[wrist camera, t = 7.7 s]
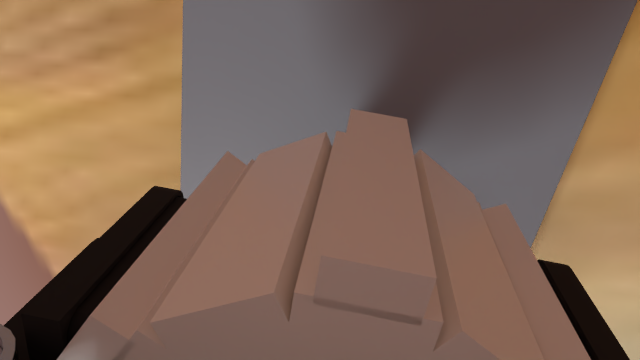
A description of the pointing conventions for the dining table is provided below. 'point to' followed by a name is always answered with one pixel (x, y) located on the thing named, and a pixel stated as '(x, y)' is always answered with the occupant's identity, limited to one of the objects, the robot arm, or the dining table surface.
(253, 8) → the gear board
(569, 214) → the dining table surface
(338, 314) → the loose gear
